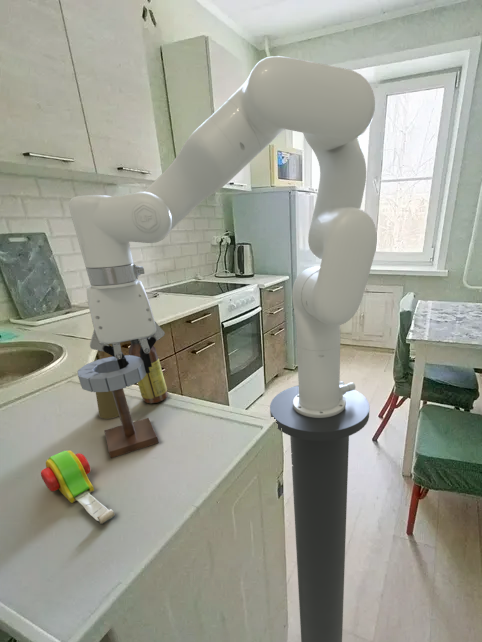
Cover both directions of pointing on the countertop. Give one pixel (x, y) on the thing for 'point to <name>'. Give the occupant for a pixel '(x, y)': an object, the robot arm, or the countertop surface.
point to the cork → (106, 405)
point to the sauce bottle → (150, 376)
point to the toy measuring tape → (74, 482)
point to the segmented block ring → (111, 374)
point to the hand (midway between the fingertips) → (137, 372)
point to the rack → (128, 430)
